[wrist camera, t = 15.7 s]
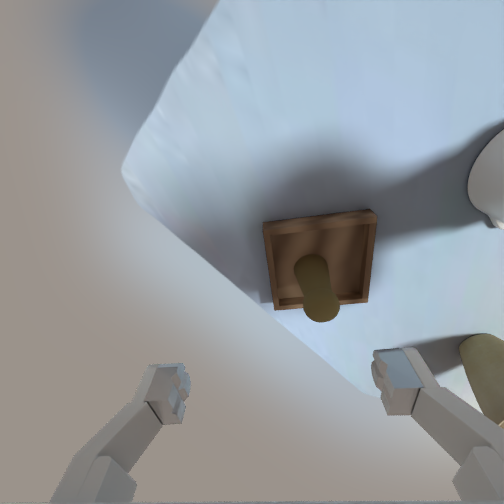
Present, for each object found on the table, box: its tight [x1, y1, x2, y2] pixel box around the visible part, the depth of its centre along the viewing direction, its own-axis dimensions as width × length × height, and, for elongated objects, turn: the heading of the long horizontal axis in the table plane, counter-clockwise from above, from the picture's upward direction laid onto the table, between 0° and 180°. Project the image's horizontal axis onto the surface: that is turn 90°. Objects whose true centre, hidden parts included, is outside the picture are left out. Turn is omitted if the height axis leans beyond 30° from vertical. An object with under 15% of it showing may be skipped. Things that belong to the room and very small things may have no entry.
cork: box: [294, 254, 340, 322], centre depth 40 cm, size 6×6×11 cm
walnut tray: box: [263, 209, 377, 310], centre depth 43 cm, size 17×17×3 cm
